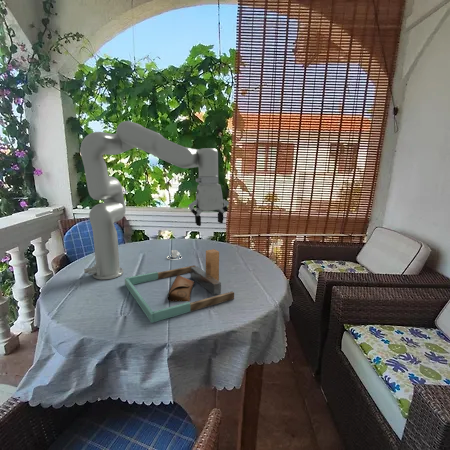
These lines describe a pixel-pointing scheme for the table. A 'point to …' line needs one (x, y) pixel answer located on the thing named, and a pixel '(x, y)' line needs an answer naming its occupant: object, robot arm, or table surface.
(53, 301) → the table surface
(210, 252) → the plank and post
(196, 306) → the channel
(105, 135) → the robot arm
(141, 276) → the tray
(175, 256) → the white looped piece
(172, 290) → the sunglasses case
